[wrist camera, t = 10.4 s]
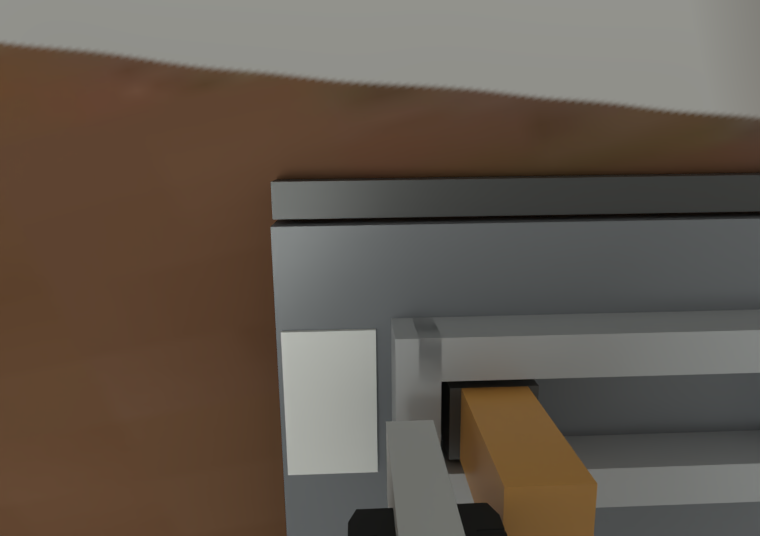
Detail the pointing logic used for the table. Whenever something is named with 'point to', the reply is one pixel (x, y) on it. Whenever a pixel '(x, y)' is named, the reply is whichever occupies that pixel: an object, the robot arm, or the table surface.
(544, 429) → the breaker toggle
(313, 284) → the breaker panel
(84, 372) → the table surface
